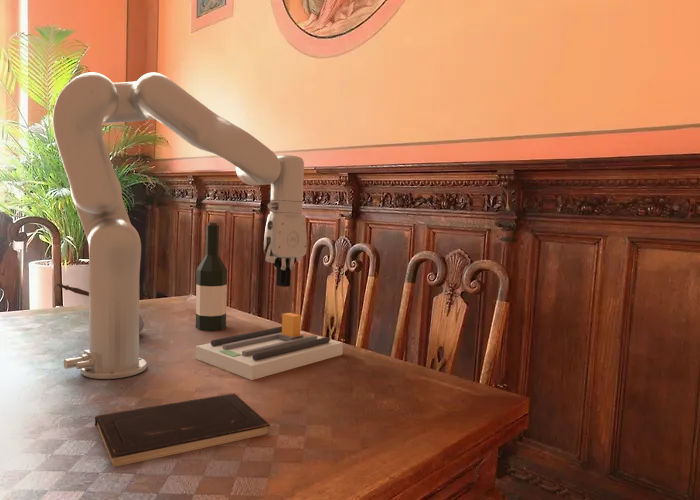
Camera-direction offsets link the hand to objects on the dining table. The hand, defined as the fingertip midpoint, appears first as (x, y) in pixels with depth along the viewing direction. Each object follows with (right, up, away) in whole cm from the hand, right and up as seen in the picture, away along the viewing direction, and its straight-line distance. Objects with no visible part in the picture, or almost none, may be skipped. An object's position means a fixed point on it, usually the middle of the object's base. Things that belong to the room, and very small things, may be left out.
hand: (283, 285), depth 128 cm
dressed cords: (-3, -14, -1) cm, 14 cm away
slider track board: (-3, -17, -1) cm, 17 cm away
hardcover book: (-11, -21, -43) cm, 49 cm away
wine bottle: (-24, -14, +25) cm, 37 cm away
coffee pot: (-47, -14, +8) cm, 50 cm away
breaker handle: (+1, -13, +3) cm, 14 cm away
